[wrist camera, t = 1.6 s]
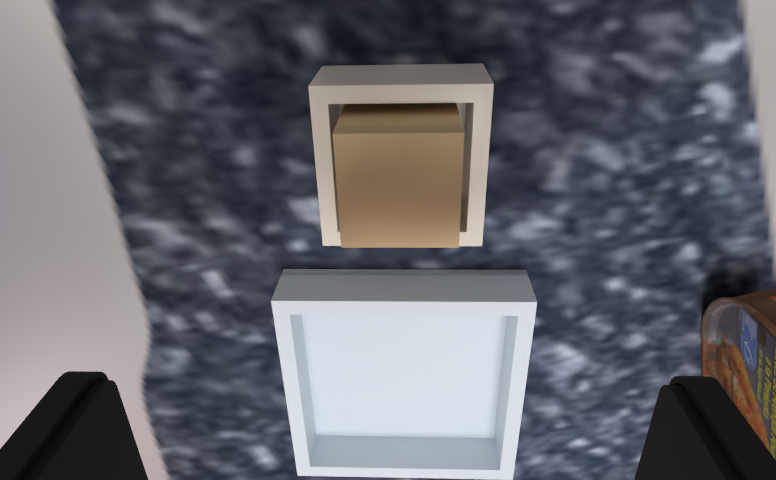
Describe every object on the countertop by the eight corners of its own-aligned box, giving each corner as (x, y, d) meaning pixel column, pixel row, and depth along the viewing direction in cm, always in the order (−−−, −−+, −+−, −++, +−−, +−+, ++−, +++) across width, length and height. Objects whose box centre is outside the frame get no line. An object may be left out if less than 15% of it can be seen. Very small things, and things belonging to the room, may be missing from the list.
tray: (283, 269, 25) (271, 300, 23) (525, 269, 24) (537, 302, 22) (306, 436, 30) (297, 475, 28) (505, 440, 30) (512, 479, 28)
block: (347, 96, 20) (332, 133, 17) (454, 95, 20) (464, 132, 16) (353, 193, 22) (341, 247, 18) (450, 192, 22) (459, 247, 18)
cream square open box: (323, 64, 21) (308, 85, 18) (481, 62, 20) (494, 83, 17) (334, 206, 24) (322, 245, 21) (472, 205, 23) (482, 246, 20)
